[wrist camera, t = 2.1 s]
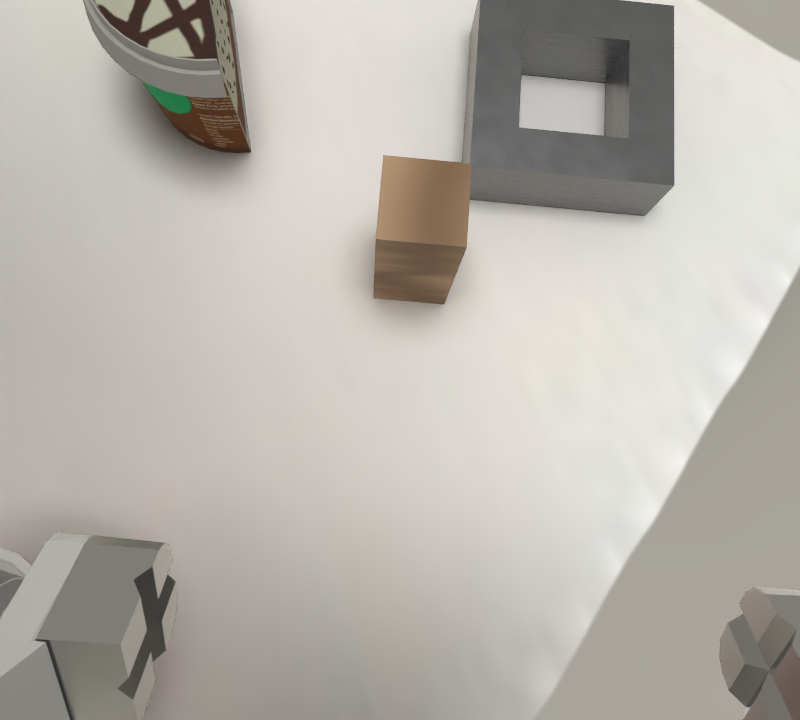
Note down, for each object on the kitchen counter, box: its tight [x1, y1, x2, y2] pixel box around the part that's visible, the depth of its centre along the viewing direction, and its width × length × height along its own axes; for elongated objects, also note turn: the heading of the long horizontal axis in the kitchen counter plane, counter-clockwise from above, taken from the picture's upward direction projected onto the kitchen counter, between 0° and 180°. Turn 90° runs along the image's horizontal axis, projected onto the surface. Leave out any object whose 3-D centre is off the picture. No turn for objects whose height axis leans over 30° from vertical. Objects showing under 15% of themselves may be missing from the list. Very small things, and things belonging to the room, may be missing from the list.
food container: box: [83, 0, 251, 153], centre depth 36 cm, size 12×6×10 cm, turn 9°
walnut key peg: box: [374, 155, 472, 304], centre depth 35 cm, size 4×4×9 cm
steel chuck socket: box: [462, 0, 674, 216], centre depth 40 cm, size 11×11×4 cm
